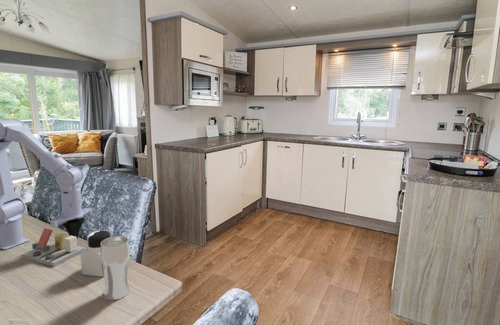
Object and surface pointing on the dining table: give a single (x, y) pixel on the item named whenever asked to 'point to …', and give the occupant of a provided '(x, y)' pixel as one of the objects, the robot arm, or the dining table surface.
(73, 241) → the white slider
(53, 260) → the panel
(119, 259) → the beer glass
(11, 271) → the dining table surface
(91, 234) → the medicine bottle
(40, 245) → the red paddle
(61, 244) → the brass slider
